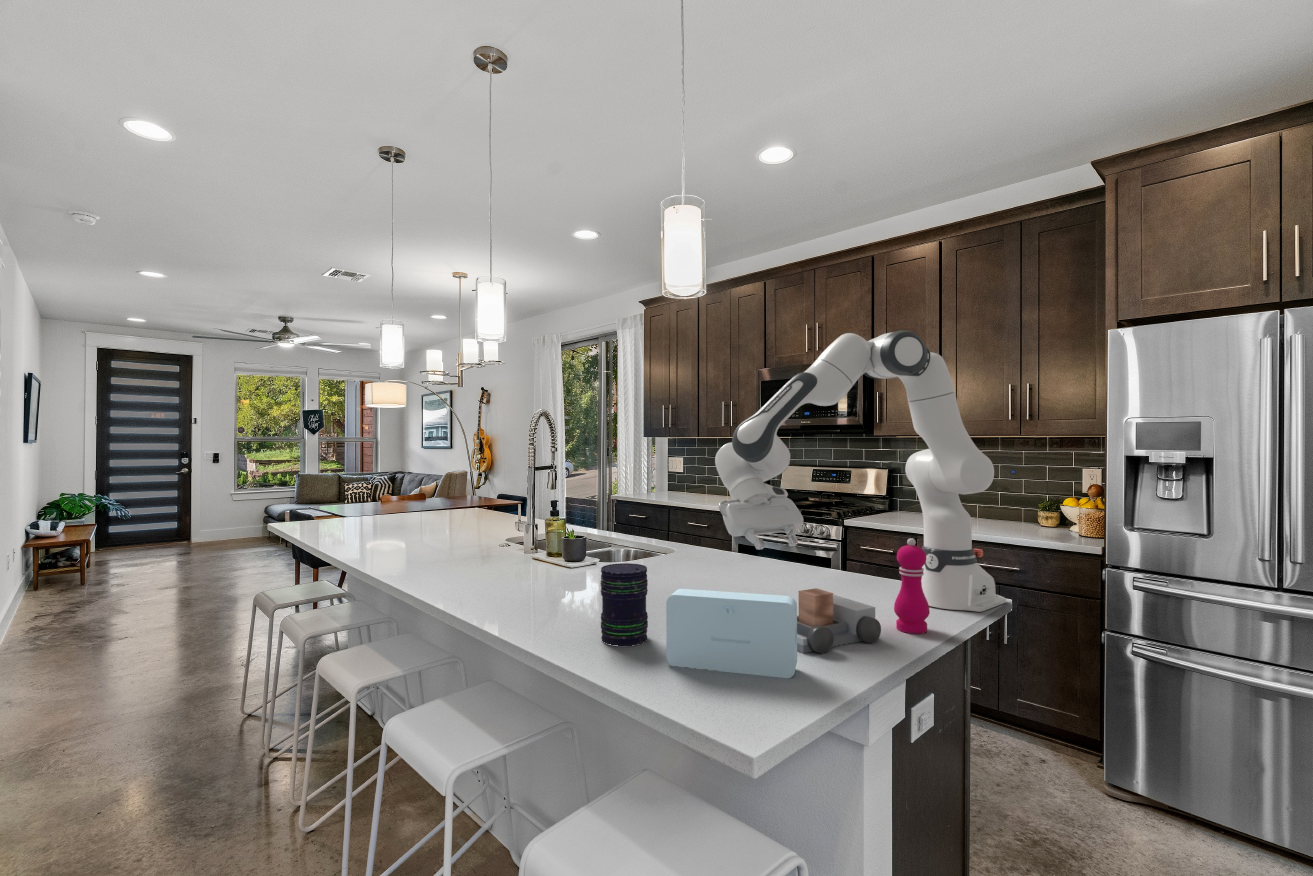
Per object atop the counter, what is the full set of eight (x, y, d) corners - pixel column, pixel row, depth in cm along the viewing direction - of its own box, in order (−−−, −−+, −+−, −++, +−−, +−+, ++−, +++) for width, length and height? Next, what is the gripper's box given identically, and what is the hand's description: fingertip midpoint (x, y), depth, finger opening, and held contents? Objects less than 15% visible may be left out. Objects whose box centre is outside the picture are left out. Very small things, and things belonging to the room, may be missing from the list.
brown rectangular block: (816, 625, 137) (816, 588, 137) (833, 631, 133) (833, 593, 133) (798, 628, 135) (798, 590, 135) (814, 635, 131) (814, 596, 131)
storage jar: (592, 643, 130) (592, 570, 130) (612, 630, 139) (611, 561, 139) (637, 649, 127) (637, 574, 127) (654, 634, 136) (654, 564, 136)
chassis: (826, 619, 147) (826, 591, 147) (884, 640, 132) (884, 609, 131) (756, 632, 137) (756, 602, 137) (810, 656, 122) (809, 622, 122)
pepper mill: (888, 630, 139) (888, 538, 139) (901, 622, 144) (901, 534, 144) (922, 637, 134) (922, 542, 134) (934, 629, 139) (934, 538, 139)
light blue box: (665, 667, 117) (665, 595, 117) (673, 657, 122) (673, 588, 122) (794, 681, 110) (794, 604, 110) (797, 669, 116) (796, 596, 116)
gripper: (721, 492, 147) (746, 541, 138) (791, 489, 156) (818, 534, 148) (710, 510, 151) (734, 558, 142) (779, 505, 160) (805, 550, 151)
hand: (778, 546), depth 145 cm, fingers open, 8 cm apart
